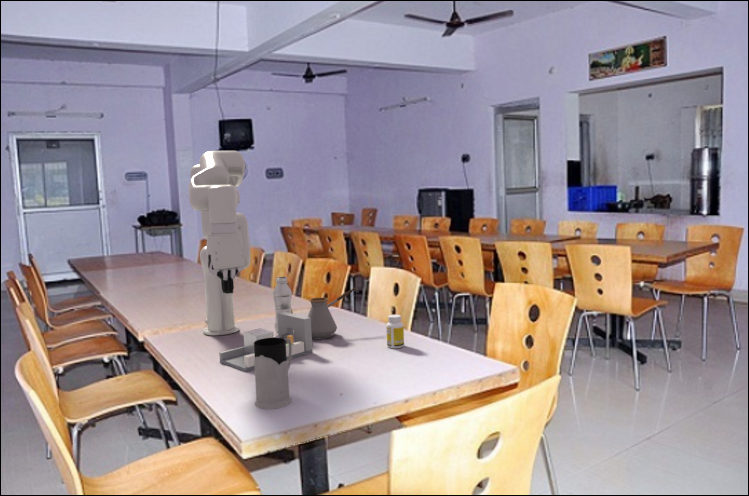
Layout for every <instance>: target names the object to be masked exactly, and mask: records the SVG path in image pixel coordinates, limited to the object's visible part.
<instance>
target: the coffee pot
mask: <svg viewBox="0 0 749 496" xmlns="http://www.w3.org/2000/svg"><path fill="white" fill-rule="evenodd" d="M353 292H356V293H359V289H358V288H357V287H353V288H351V289H349V290H348V291H345V292H344V293H343V294H341V295H339V296H338V297H337V298H336V299H335V300H333V301H331V302H329V303H328V301H329V298H328V297H313V298H310V299H309V303H310V304H311V306H310V309H309V312H308V315H307V317H310V318H311V333H312V340H322V339H323V340H324V339H328V338H331V337H332V336H333V335H334V334H335V333H336V332H337V329H338V326H337V324H336V321H335V320H334V317H333V315H332V313H331V311H330V309H329V308H330V307H331V306H333V305H334V304H335V303H337V302H339V301H341V300H342V299H344V298H346V297H348V295H350V293H351V294H352V293H353Z"/></svg>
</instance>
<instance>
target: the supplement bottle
mask: <svg viewBox="0 0 749 496" xmlns="http://www.w3.org/2000/svg"><path fill="white" fill-rule="evenodd" d="M387 318H388V322H387V323H386V325H385V326H386V329H385V331H386V345H387V348H389V349H401V348H403V347H404V346H405V330H404V327H405V326H404V323H403V322H402V316H401V315H400V314H390V315H388V316H387Z"/></svg>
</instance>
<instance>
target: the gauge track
mask: <svg viewBox="0 0 749 496" xmlns="http://www.w3.org/2000/svg"><path fill="white" fill-rule="evenodd" d="M277 315H278V332H279V334H278V335H282V334H286V333H289V334H290V335H292V336H293V342H294V343H291V345H292V355H291V360H292V359H295V358H299V357H302V356H305V355H309V354H313V339H312V333H311V318H310V317H308V316H305V315H300V314H297V313H296V314H294V313H293V314H292V313H287V312H280V313H277ZM293 329H294V331H293ZM218 354H219V363H221V364H224V365H226V366H228V367H232V368H234V369H237V370H240V371H242V372H244V373H246V372H250V371H253V370H254V371H255V367H254V359H255V354H250V355H245V350H244V345H243V346H241V347H235V348H232V349H228V350H224V351H221V352H218ZM288 357H289V343H287V340H286V358H287V361H288Z"/></svg>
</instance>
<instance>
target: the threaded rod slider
mask: <svg viewBox="0 0 749 496" xmlns="http://www.w3.org/2000/svg"><path fill="white" fill-rule="evenodd" d="M242 334H243V346H244V350H245V355H250V354H254V342H255V341H257V340H260V339H264V338H283V339H285V338H287V336H289V335H290V334H289V333H286V334H282V335H279V334H277V335H275V334H274V331H272V330H267V329H266V328H262V327H261V328H256V329H251V330H247V331H246V330H245V331H243V333H242Z"/></svg>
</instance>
